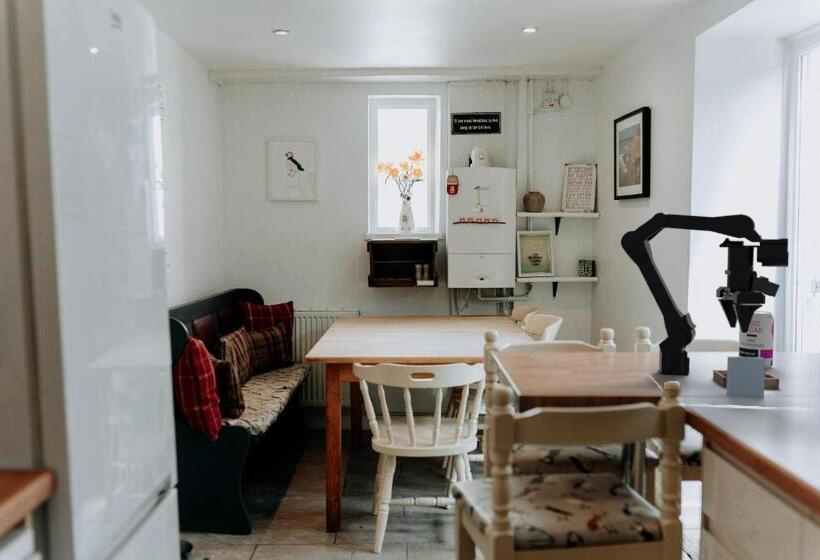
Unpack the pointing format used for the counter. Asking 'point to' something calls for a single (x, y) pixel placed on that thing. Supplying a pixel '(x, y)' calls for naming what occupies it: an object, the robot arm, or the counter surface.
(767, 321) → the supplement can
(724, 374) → the rack
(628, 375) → the counter surface
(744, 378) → the board
